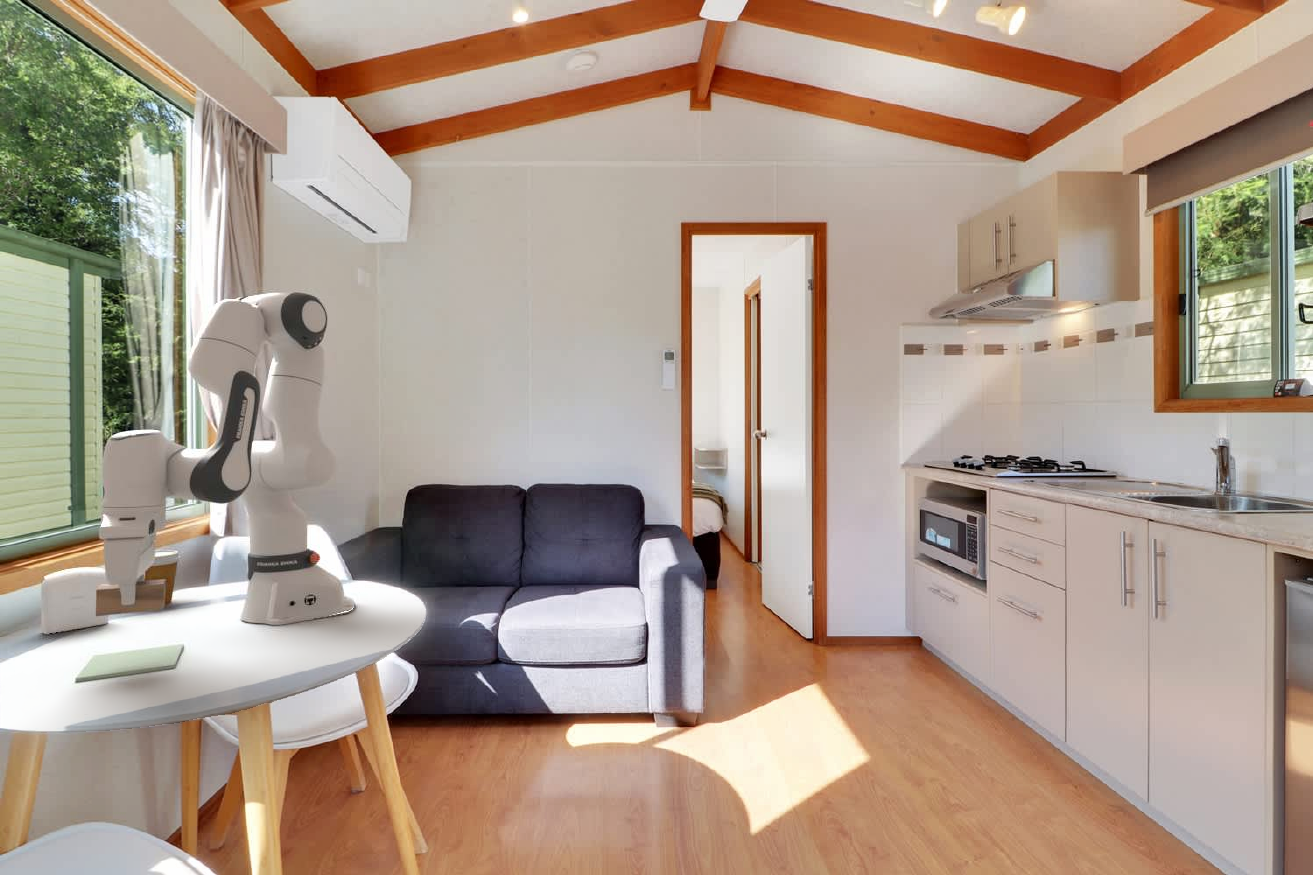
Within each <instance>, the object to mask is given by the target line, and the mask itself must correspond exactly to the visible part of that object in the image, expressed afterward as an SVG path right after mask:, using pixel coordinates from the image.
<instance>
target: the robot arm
mask: <svg viewBox="0 0 1313 875" xmlns="http://www.w3.org/2000/svg"><path fill="white" fill-rule="evenodd" d="M327 326H328V314H327V311H326V308H325V306H324V305H323V303H322V302H321V300H320V299H319V298H318V297H316V296H314V295H312V294H309V293H303V292H298V291H297V292H291V293H290V292H269V293H263V294H258V295H246V296H241V297H238V298H236V299H232V298H231V299H224V300H223V299H222V301H219V302H217V303H216V304H215V305H214V306H213V307H212V309H211V310H210V312H209V313H208V315H207V316H206V318H205V320H204V321H203V323H202V325H201V327H200V329H199V331H198V333H197V335H196V337H195V340H194V343H193V345H192V347H191V350H190V353H189V358H188V365H187V366H188V371H189V373H190V376H191V377H192V378H193V380H194V381H195V382H196V383H197V384H198V385H199V387H202V388H203V389H204V390H206V391H209V392H211V393H213V394H214V395H216V396H218V398H219V399H220V402H221V412H220V418H219V421H218V422H219V423H218V428H217V431H216V432H217V433H216V437H215V442H214V443H213V444H212V445H211V446H210V447H209V448H206V449H205V448H200V449H199V448H192V447H191V448H189V447H188V448H187V447H186V446H184V445H180V444H179V443H177V442H174V441H173V440H170V439H169V438H168V437H166V436H165V435H164V433H163V432H162V431H161V430H156V429H139V430H127V431H121V432H118V433H115V434H113V435H111V436H110V437H109V438H108V440H107V442H106V444H105V446H104V451H103V456H102V465H101V466H102V468H101V483H102V486H103V489H104V493H103V494H104V495H103V498H102V501H101V505H100V526H99V528H98V537H99V539H100V540H104V541H103V558H104V559H103V560H104V561H103V562H104V570H105V573H106V579H107V582H108V584H109V585H119V588H120V592H121V604H122V605H132V604H134V603H135V601H136V583H137V581H144V578H145V571H146V570H147V569H148V568H149V567H150V566H151V565H152V564H153V563H154V560H155V551H156V540H157V533H158V532H162V531H165V530H166V522H167V521H166V519H167V518H166V516H167V515H166V514H167V513H166V512H167V510H166V509H167V507H166V506H167V502H166V501H167V500H166V498H169V499H177V500H185V501H186V500H189V501H201V502H202V501H203V502H207V503H214V504H219V505H221V504H228V503H231V502H234V501H235V500H237V499H238V498H240V497H241V499H242V501H243V504H244V506H245V508H246V512H247V515H248V516H247V517H248V522H249V553H248V554H247V559H246V576H247V579H248V582H247V583H248V584H247V590H246V591H247V592H246V597H245V600H244V605H243V609H242V612H241V615H240V619H241V621H244V622H247V623H253V624H266V625H272V626H280V625H287V624H293V623H298V622H305V621H310V620H309V619H311V620H315V619H314V618H317V619H321V617H323V618H326V617H325V616H329V617H331V616H330V615H333V614H337V613H341V612H344V611H349V610H351V609H352V608H353V607H354V606H355V601H354V599H353V598H351V597H349V596H346V595H345V591H344V586H343V583H342V582H341V580H340V579H339V578H338V577H337V576H335V575H334V574H332V573H331V572H329V571H327V570H326V569H324V568H322V567H321V566H319V565H317V564H318V563H319V562H320V560H321V556H320V554H319V553H318V552H316V551H315V550H314V549H313V550H312V549H310V548H308V517H307V514H306V512H304V510H302V509H301V508H300V507H298V506H297V505H296V503H295V502H294V501H293V499H292V497H291V494H290V491H297V492H298V491H301V492H303V491H304V492H305V491H311V490H316V489H320V488H325V487H326V486H328V485H329V484H330V483H331V482H332V480H333V479H334V478H335V476H336V474H337V468H338V464H337V458H336V456H335V454H334V452H333V450H332V449H331V448H330V447H329V446H328V445H327V444H326V443H325V441H324V439H323V438H322V434H321V431H320V428H319V427H320V426H319V411H320V403H321V397H322V390H323V385H324V384H323V383H324V376H325V352H324V348H323V346H322V345H321V343H322V341H323V339H324V336H325V333H326V330H327ZM263 344H264V345H265V344H266V345H271V348H272V353H273V358H272V361H271V365H270V367H269V371H268V376H267V381H266V386H265V390H264V391H265V392H264V394H263V395H264V396H263V399H262V400H263V401H262V406H261V408H262V409H261V410H262V413H263V415H264V416H265V417H266V419H268V420H269V421H270V422H272V423H273V425H274V430H275V440H254V438H255V433H256V432H255V431H256V427H257V420H258V415H259V408H260V402H261V386H260V383H259V380H258V379H257V378H256V368H257V364H258V360H259V357H260V354H261V350H262V346H263ZM354 608H355V607H354Z"/></svg>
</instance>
